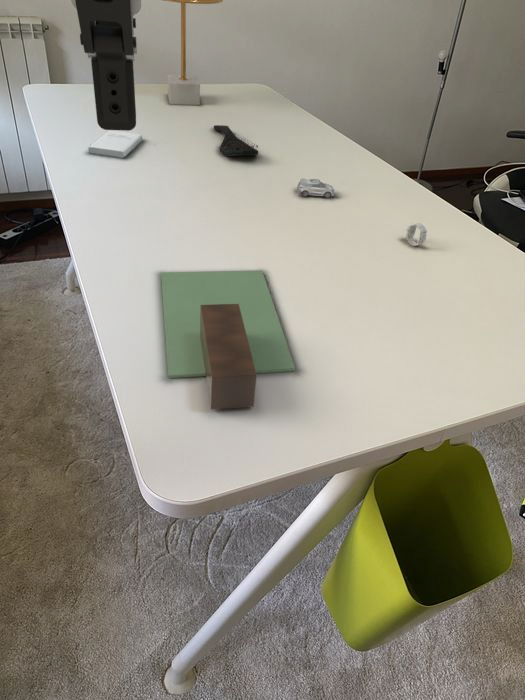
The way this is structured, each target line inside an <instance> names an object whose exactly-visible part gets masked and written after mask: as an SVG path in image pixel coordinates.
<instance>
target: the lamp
mask: <svg viewBox="0 0 525 700" xmlns="http://www.w3.org/2000/svg"><path fill="white" fill-rule="evenodd" d="M162 1H163V2H171V3H180V74H167V98H168V102H169V104H170V105H182V106H183V105H186V106H200V105H201V99H200V98H201V84H200V83H201V82H200V81H199V78H198V76H197V75H187V56H186V55H187V8H186V7H187V4H191V5H192V4H193V5H212V4H221V3H222V2H223V1H224V0H162Z"/></svg>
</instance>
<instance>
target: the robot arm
mask: <svg viewBox="0 0 525 700" xmlns="http://www.w3.org/2000/svg"><path fill="white" fill-rule="evenodd" d="M70 1H71V4H72V6H73V7H74V8H75V9H76V13H77V18H78V19H77V20H78V24H79V29H80V33H79V41H80V45H81V46H83V52H84V54H87V59H90V62H91V72H92V73H91V74H92V83H93V91H94V93H93V94H94V102H95V113H96V121H97V125H98V126H99V128H101V129H102V130H105V131H110V130H113V131H124V132H127V131H133V130H134V129H135V128H136V125H137V108H136V107H137V105H136V91H135V90H136V88H135V72H134V71H135V70H134V62H135V55H137V54H138V49H137V47H138V45H137V44H138V43H137V36H134V35H135V32H134V30H135V29H137V22H136V20H137V19H136V17H134V16H135V15H137V14H138V13H139V12H140V11H141V9H142V0H70Z"/></svg>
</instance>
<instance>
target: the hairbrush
mask: <svg viewBox="0 0 525 700" xmlns="http://www.w3.org/2000/svg"><path fill="white" fill-rule="evenodd" d="M213 130H214V131H215V130H216V131H219V132H221V133H222V134H223V139H222V141H221V143H220V146H219V149H220V150H219V151H220V153H221V155H223V156H225V157H230V156H233V157H234V156H252V155H253V156H257V155H259V150H258V148H259V145H257V144H256V143H254V142H251V141H250V140H248V139H247V138H244V139H241V138H239V137H237V136H236V135H237V134H236V133H234V132H233V131H232V130H231V128H230V127H229V125H223V124H221V125H220V124H219V125H218V124H217V125H215V124H214V125H213ZM246 139H247V140H246ZM250 143H251V145H250Z"/></svg>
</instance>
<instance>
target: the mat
mask: <svg viewBox="0 0 525 700" xmlns="http://www.w3.org/2000/svg"><path fill="white" fill-rule="evenodd" d="M160 276H161V278H160V279H161V292H162V293H161V294H162V305H163V319H164V333H165V346H166V347H165V348H166V362H167V374H168V379H176V378H177V379H178V378H194V377H195V378H196V377H206V373H205V367H204V360H203V353H202V346H201V339H200V305H212V304H239V307H240V311H241V315H242V319H243V323H244V327H245V331H246V335H247V339H248V343H249V346H250V350H251V354H252V358H253V362H254V366H255V370H256V374H266V373H269V374H270V373H284V372H296V367H295V366H296V365H295V364H294V360H293V358H292V357H293V356H292V355H291V354H292V353H291V352H290V349H289V346H288V343H287V340H286V336H285V334H284V331H283V328H282V325H281V321H280V320H279V317H278V314H277V313H278V312H277V310H276V307H275V304H274V301H273V299H272V295H271V292H270V290H269V289H270V288H269V286H268V283H267V280H266V278H265V275H264V272H263V270H218V271H216V270H215V271H213V270H212V271H167V272H166V271H164V272H163V271H161V273H160Z"/></svg>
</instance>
